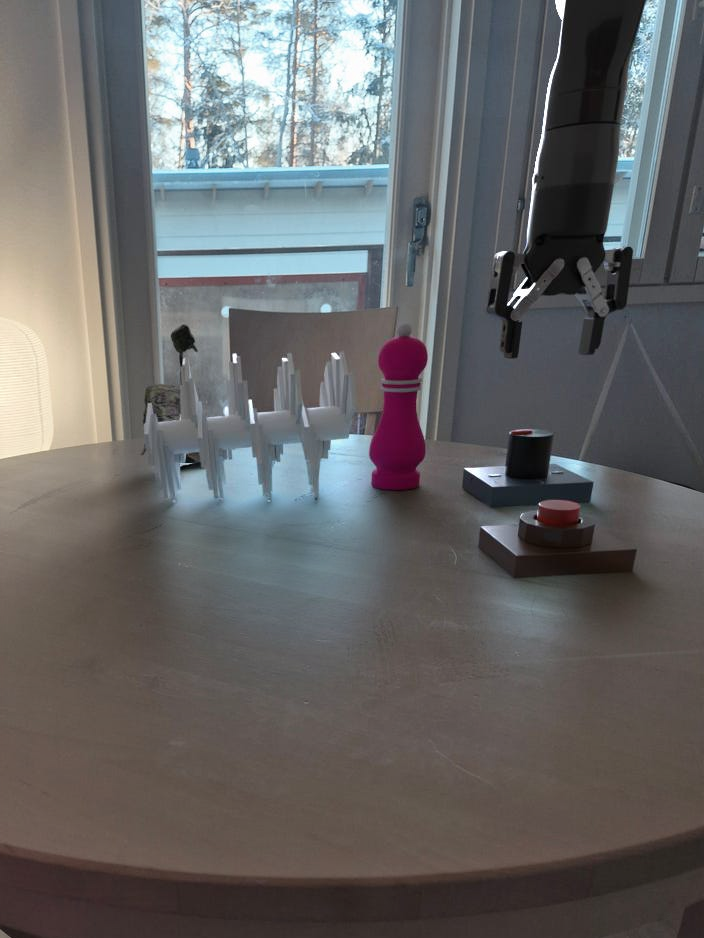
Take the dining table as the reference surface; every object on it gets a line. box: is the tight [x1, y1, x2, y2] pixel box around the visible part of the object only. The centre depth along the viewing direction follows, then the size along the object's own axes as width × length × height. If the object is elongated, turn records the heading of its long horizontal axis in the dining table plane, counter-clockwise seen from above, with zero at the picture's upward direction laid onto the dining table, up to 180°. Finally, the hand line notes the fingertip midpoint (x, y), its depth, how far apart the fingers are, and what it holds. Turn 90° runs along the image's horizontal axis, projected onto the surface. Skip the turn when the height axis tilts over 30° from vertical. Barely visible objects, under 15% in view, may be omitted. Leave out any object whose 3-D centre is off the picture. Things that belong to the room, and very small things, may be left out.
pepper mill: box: [368, 322, 429, 491], centre depth 95 cm, size 7×7×20 cm
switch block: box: [477, 509, 638, 579], centre depth 70 cm, size 11×9×4 cm
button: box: [536, 500, 582, 526], centre depth 69 cm, size 4×4×2 cm
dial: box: [504, 428, 555, 479], centre depth 90 cm, size 5×5×5 cm
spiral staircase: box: [143, 350, 358, 501], centre depth 92 cm, size 18×18×25 cm
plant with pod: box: [140, 323, 201, 464], centre depth 111 cm, size 8×11×20 cm
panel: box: [461, 463, 594, 509], centre depth 92 cm, size 12×10×3 cm
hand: (548, 356), depth 81 cm, fingers open, 8 cm apart
